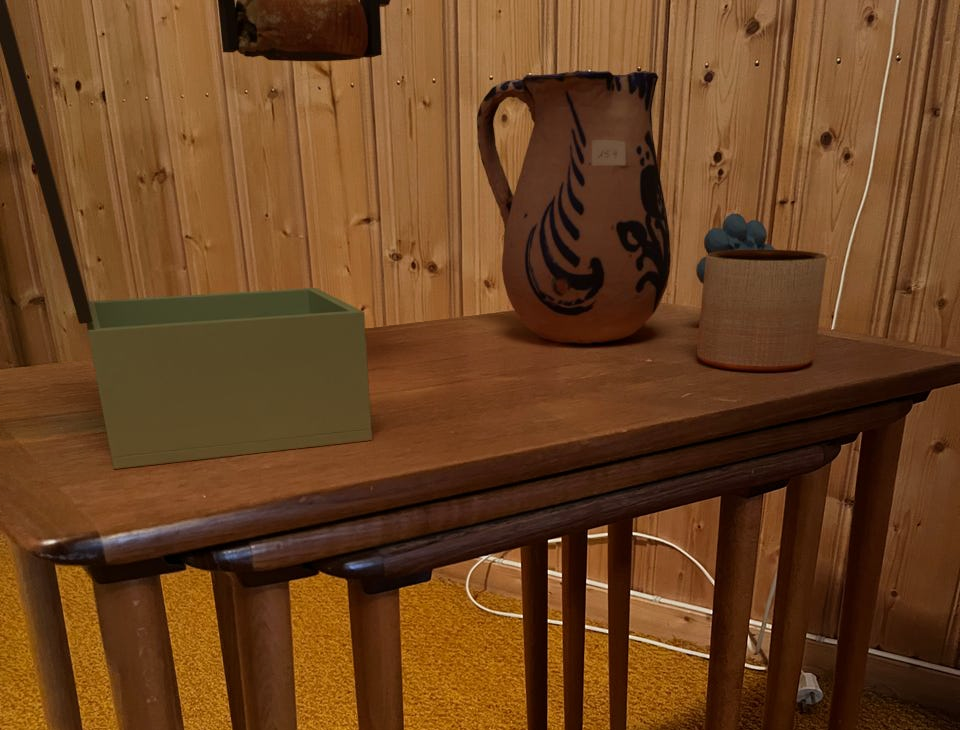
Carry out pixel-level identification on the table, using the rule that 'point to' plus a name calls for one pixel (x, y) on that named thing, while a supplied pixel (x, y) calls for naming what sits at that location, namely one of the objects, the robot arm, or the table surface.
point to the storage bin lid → (42, 164)
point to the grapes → (734, 238)
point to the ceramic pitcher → (582, 205)
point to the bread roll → (302, 29)
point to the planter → (760, 309)
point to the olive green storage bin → (229, 374)
